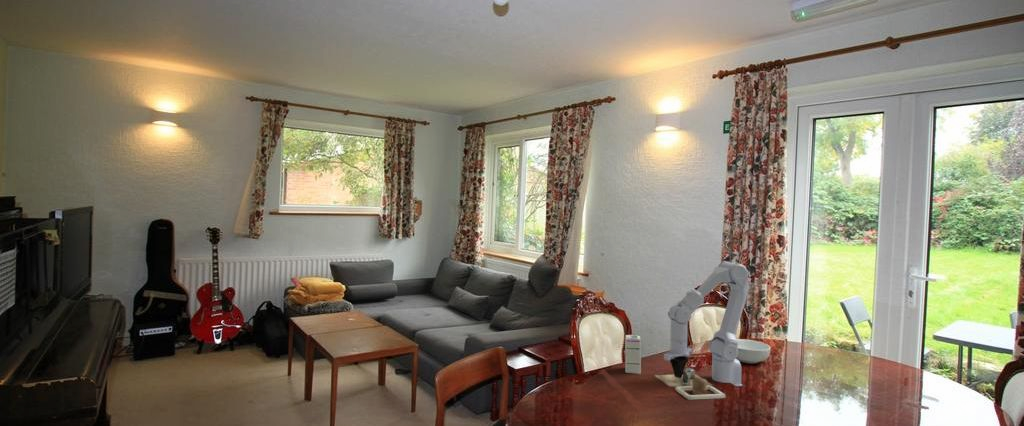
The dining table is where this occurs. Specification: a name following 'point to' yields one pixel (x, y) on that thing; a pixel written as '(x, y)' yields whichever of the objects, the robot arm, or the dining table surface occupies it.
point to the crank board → (676, 380)
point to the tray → (707, 396)
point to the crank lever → (688, 375)
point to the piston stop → (699, 386)
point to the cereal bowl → (752, 351)
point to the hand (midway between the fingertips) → (678, 377)
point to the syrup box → (632, 354)
